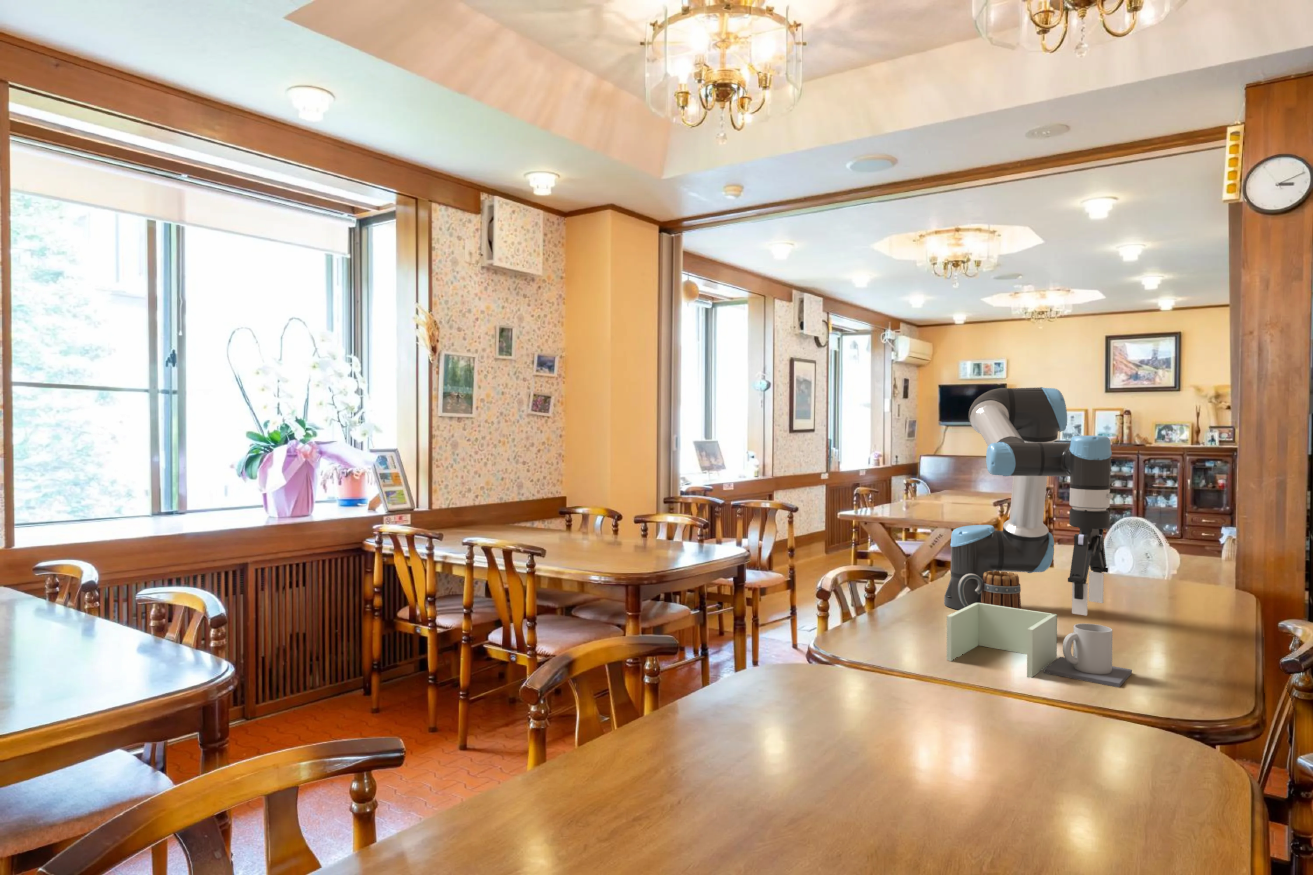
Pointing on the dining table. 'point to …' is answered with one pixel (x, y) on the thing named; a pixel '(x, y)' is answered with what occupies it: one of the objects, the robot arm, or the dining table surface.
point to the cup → (1090, 648)
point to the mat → (1068, 670)
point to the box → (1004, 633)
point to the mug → (995, 589)
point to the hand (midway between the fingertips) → (1088, 607)
